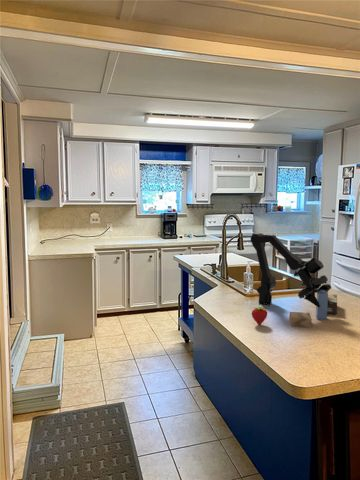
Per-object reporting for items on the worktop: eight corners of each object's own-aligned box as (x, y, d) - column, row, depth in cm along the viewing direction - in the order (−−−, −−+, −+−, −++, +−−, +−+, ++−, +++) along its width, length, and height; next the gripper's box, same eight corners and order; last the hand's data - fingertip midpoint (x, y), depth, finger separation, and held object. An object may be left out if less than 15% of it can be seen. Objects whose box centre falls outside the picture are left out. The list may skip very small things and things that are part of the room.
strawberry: (249, 323, 174) (249, 302, 173) (263, 321, 176) (264, 301, 174) (254, 327, 168) (254, 306, 167) (269, 326, 170) (270, 305, 169)
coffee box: (318, 303, 205) (317, 312, 190) (319, 292, 204) (318, 300, 189) (336, 305, 201) (336, 314, 186) (337, 294, 200) (337, 302, 186)
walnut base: (290, 325, 170) (291, 317, 170) (289, 319, 179) (289, 311, 179) (311, 327, 169) (311, 319, 168) (308, 320, 177) (309, 312, 177)
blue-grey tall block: (316, 319, 180) (318, 291, 178) (315, 316, 184) (317, 289, 182) (326, 319, 179) (328, 292, 177) (325, 316, 183) (326, 289, 181)
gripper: (303, 272, 177) (321, 300, 169) (329, 268, 186) (347, 294, 178) (290, 284, 185) (307, 311, 177) (316, 280, 194) (332, 306, 186)
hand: (324, 305), depth 179 cm, fingers closed on blue-grey tall block, 6 cm apart
